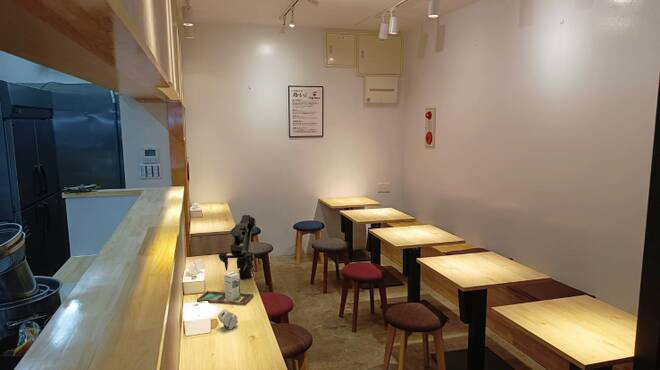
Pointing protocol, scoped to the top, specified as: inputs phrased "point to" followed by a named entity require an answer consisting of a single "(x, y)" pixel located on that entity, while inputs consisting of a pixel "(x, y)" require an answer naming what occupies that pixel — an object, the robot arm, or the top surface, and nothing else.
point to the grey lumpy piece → (227, 319)
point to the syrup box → (232, 286)
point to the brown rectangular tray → (214, 298)
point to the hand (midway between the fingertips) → (234, 270)
